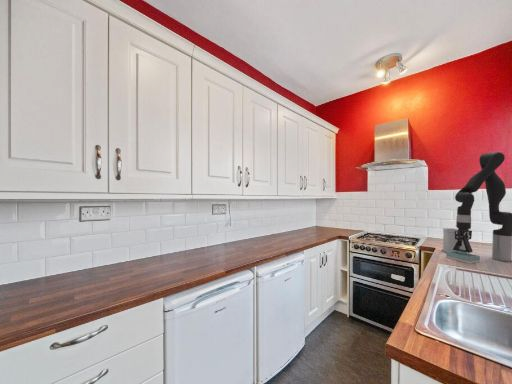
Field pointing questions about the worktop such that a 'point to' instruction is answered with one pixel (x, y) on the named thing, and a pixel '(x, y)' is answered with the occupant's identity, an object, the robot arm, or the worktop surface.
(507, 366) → the worktop surface
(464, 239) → the black v-shaped piece
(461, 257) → the socket base
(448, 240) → the utensil holder
